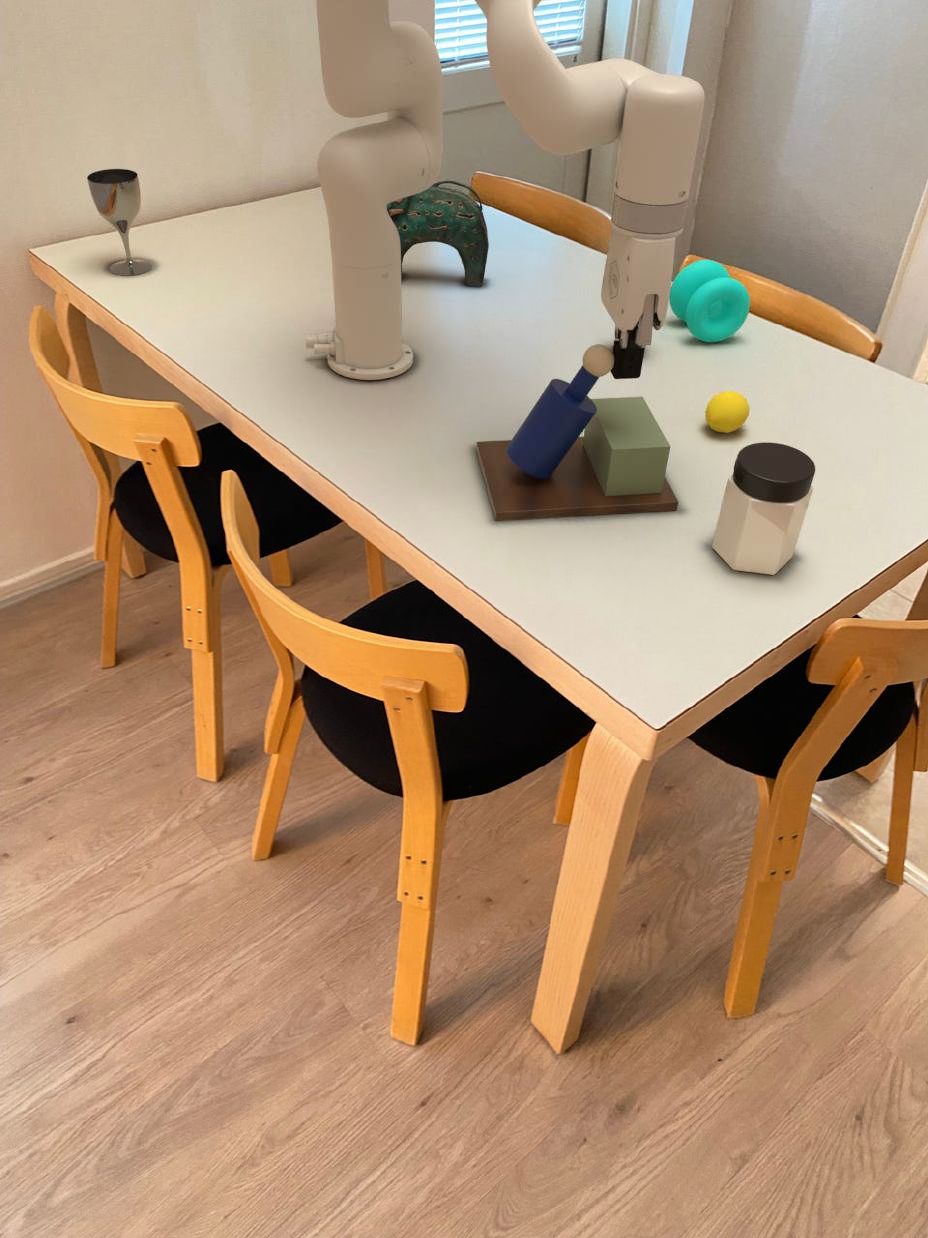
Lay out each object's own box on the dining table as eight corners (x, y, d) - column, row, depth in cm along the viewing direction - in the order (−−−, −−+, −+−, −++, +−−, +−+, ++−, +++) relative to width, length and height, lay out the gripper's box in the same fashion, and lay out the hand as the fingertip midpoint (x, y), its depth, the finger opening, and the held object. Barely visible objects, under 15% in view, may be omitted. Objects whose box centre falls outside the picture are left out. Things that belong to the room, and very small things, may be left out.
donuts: (685, 347, 150) (696, 284, 143) (661, 320, 157) (672, 258, 150) (745, 343, 151) (759, 280, 145) (719, 316, 159) (732, 255, 152)
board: (495, 520, 114) (496, 512, 113) (476, 449, 126) (476, 441, 125) (677, 510, 116) (678, 502, 115) (641, 441, 128) (642, 433, 127)
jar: (737, 521, 115) (760, 431, 107) (802, 549, 111) (830, 458, 103) (699, 555, 109) (720, 464, 102) (765, 586, 106) (792, 493, 98)
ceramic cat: (369, 282, 166) (364, 157, 152) (376, 268, 170) (372, 145, 157) (485, 291, 164) (490, 165, 151) (488, 276, 169) (494, 153, 156)
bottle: (515, 494, 117) (497, 382, 107) (506, 466, 122) (488, 356, 112) (627, 470, 117) (620, 355, 107) (614, 442, 122) (606, 330, 112)
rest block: (605, 496, 116) (611, 449, 112) (582, 444, 125) (588, 398, 121) (661, 493, 117) (670, 446, 112) (635, 441, 126) (642, 396, 121)
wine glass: (164, 265, 169) (148, 174, 159) (129, 279, 164) (110, 186, 154) (132, 255, 172) (114, 165, 162) (97, 269, 167) (76, 177, 157)
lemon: (725, 446, 128) (733, 409, 124) (691, 430, 131) (698, 394, 127) (754, 428, 131) (764, 392, 128) (721, 413, 134) (729, 377, 131)
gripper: (596, 189, 105) (578, 347, 118) (632, 239, 94) (609, 408, 106) (662, 188, 106) (638, 345, 118) (706, 237, 95) (675, 405, 107)
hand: (624, 375), depth 112 cm, fingers closed
